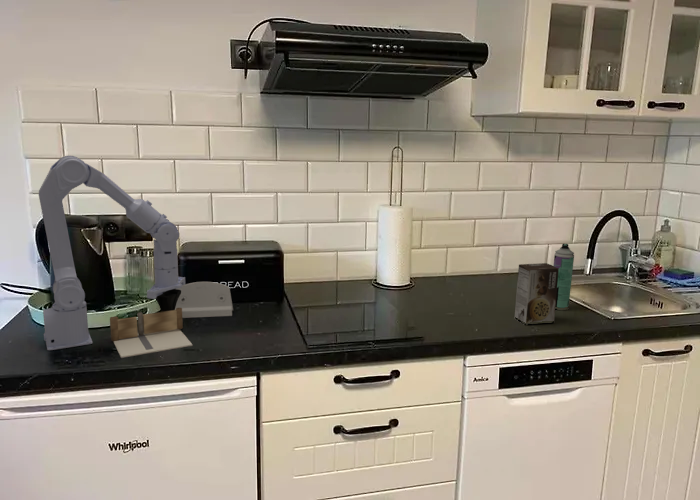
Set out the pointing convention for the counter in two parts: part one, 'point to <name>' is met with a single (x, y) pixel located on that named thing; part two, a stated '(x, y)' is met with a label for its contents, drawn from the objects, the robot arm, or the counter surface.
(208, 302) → the hinge
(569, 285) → the spray can
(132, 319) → the fence fixed
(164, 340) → the card
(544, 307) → the coffee box
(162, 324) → the panel
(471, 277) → the counter surface
